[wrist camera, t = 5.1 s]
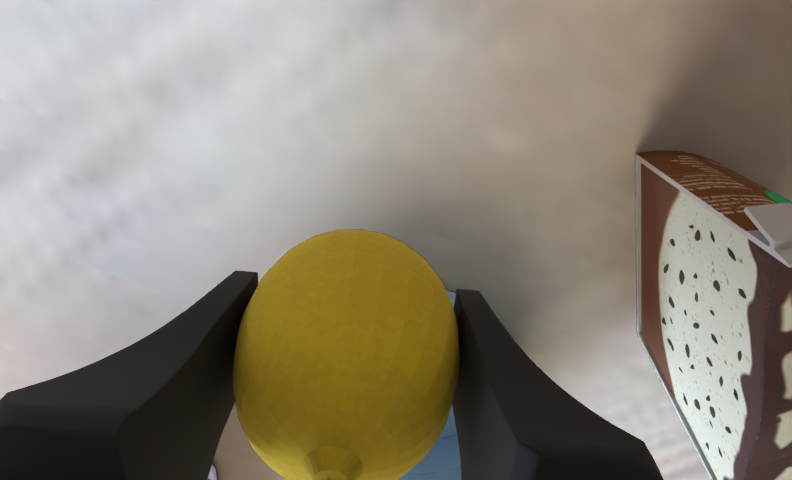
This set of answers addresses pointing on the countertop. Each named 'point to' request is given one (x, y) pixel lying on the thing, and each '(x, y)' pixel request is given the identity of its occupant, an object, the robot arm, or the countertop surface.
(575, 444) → the robot arm
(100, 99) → the countertop surface
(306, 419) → the lemon
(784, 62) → the countertop surface
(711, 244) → the food container
